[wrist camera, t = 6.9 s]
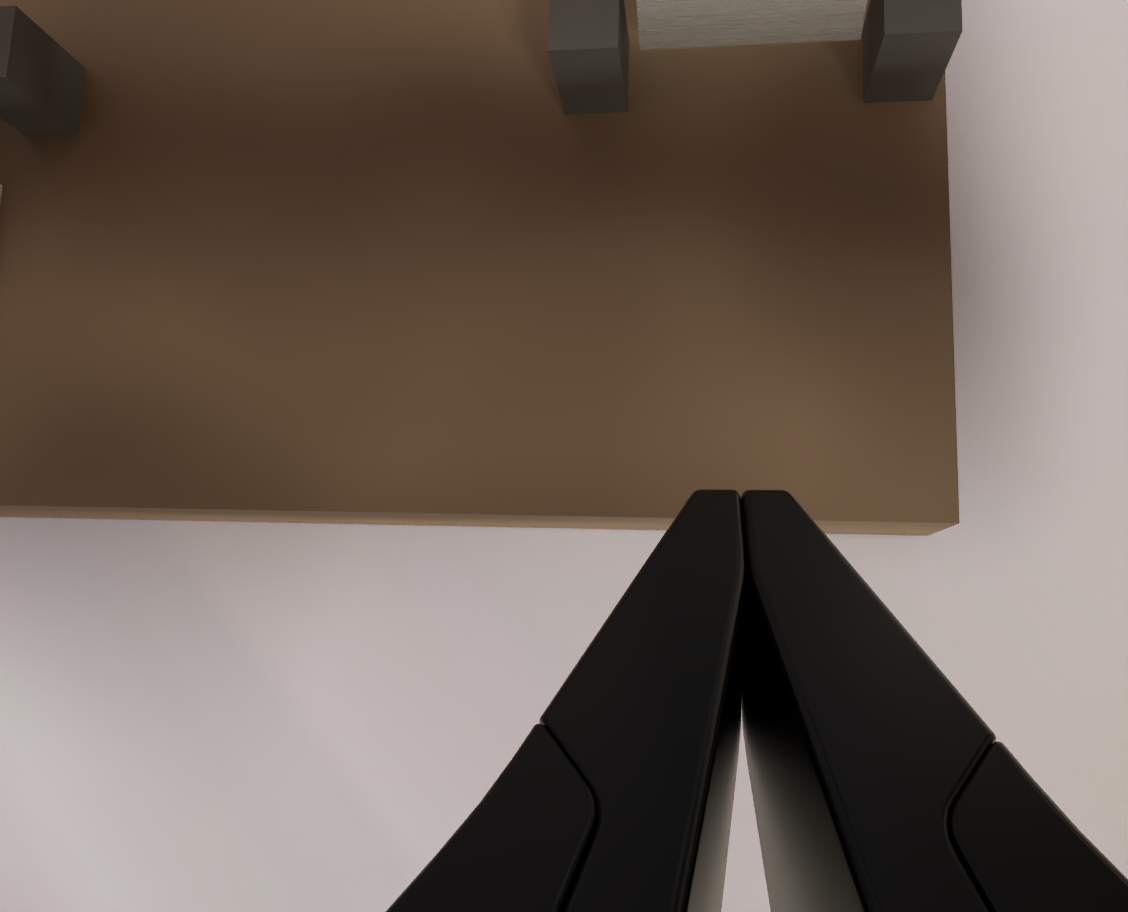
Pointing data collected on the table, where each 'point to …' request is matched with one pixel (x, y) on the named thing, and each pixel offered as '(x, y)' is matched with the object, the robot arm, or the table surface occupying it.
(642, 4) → the lever
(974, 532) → the table surface
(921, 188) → the switch box
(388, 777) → the table surface
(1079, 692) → the table surface
